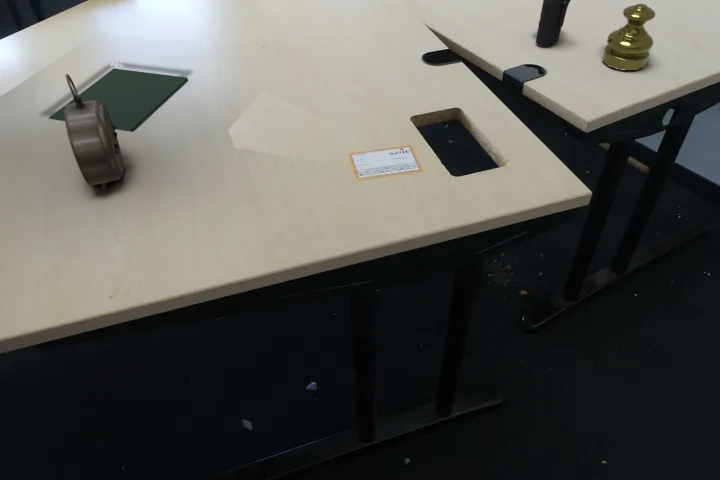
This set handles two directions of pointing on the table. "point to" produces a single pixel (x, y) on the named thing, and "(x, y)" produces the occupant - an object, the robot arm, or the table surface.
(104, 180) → the alarm clock
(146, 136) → the table surface
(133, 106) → the desk mat
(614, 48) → the gold round tapered piece
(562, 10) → the two-way radio
